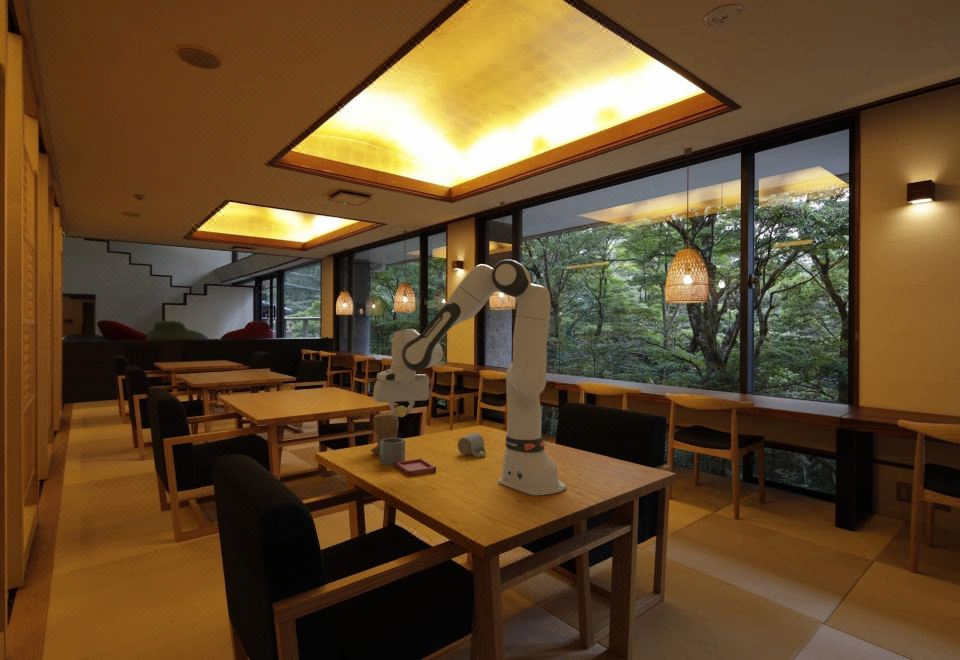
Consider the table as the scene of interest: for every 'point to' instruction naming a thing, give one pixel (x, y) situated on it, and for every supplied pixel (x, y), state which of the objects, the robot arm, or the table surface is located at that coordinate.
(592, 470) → the table surface
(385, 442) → the deep cup
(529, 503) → the table surface
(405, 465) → the lacquer tray
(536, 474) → the robot arm
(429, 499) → the table surface
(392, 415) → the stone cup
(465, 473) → the table surface
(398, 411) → the ball
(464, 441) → the ceramic mug
